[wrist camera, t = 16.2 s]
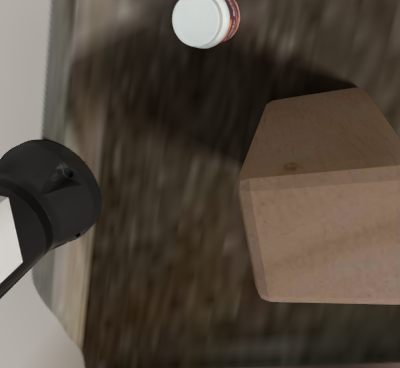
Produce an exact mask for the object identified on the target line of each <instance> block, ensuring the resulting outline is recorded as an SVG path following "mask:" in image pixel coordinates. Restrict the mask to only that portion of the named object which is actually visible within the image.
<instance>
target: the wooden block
mask: <svg viewBox="0 0 400 368" xmlns="http://www.w3.org/2000/svg"><path fill="white" fill-rule="evenodd" d="M237 191H238V196H239V201H240V206H241V212H242V217H243V222H244V227H245V233H246V238H247V243H248V248H249V254H250V259H251V264H252V269H253V275H254V280H255V285H256V288H257V291H258V293H259V295H260V296H261V298H262V299H264V300H267V301H270V302H307V303H353V304H400V138H399V137H398V136H397V134H396V133H395V131H394V130H393V129H392V127H391V126H390V124H389V123H388V122H387V120H386V119H385V117H384V116H383V115H382V113H381V112H380V110H379V109H378V108H377V106H376V105H375V103H374V102H373V101H372V99H371V98H370V96H369V95H368V94H367V92H366V91H365V89H361V88H357V87H355V88H349V89H343V90H336V91H330V92H323V93H317V94H311V95H304V96H298V97H291V98H285V99H279V100H273V101H271V102H269V103H268V104H266V107H265V109H264V112H263V114H262V117H261V120H260V122H259V125H258V127H257V130H256V133H255V135H254V138H253V140H252V143H251V146H250V148H249V151H248V153H247V156H246V159H245V161H244V164H243V166H242V169H241V172H240V174H239V178H238V182H237Z"/></svg>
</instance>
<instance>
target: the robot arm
mask: <svg viewBox="0 0 400 368" xmlns="http://www.w3.org/2000/svg"><path fill="white" fill-rule="evenodd" d="M100 210H101V194H100V190H99V187H98V184H97V181H96V179H95V177H94V176H93V174H92V172H91V171H90V169H89V168H88V167H87V165H86V164H85V163H84V162H83V161H82V160H81V159H80V158H79V157H78V156H77V155H76V154H75V153H73V152H72V151H70V150H69V149H67V148H66V147H64V146H62V145H60V144H57V143H55V142H51V141H47V140H31V141H27V142H24V143H22V144H20V145H18V146H16V147H14V148H12V149H10V150H9V151H8V152H7V153H6V154H4V156H3V157H2V158H1V159H0V299H1V298H2V297H3V296H4V294H6V293H7V292H8V291H9V290H10V289H11V288H12V287H13V286H14V285H15V284H16V283H17V282H18V281H19V280H20V279H21V278H22V277H23V276H24V275H25V274H26V273H27V272H28V271H29V270H30V269H31V268H32V267H33V266H34V265H35V264H36V263H37V262H38V261H39V260H40V259H41V258H42V257H43V256H44V255H45V254H46V253H47V252H48V251H50V250H52V249H55V248H57V247H59V246H62V245H64V244H66V243H68V242H70V241H73V240H75V239H77V238H79V237H81V236H82V235H84V234H85V233H86V232H87V231H88V230H89V229H90V228H91V227H92V226H93V225H94V223H95V222H96V221H97V219H98V217H99V214H100Z"/></svg>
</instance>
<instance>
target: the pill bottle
mask: <svg viewBox="0 0 400 368" xmlns="http://www.w3.org/2000/svg"><path fill="white" fill-rule="evenodd" d="M239 22H240V12H239V8H238V5H237V3H236V2H235V0H179V1H178V2H177V4H176V5H175V8H174V10H173V14H172V24H173V28H174V31H175V33H176V35H177V37H178V38H179V39H180V40H181V41H182V42H183V43H185V44H187V45H189V46H193V47H196V48H202V49H205V48H211V47H214V46H216V45H218V44H220V43H223V42H225V41H227V40H228V39H230V38H231V37H232V36H233V35H234V34H235V32H236V31H237V29H238V26H239Z"/></svg>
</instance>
